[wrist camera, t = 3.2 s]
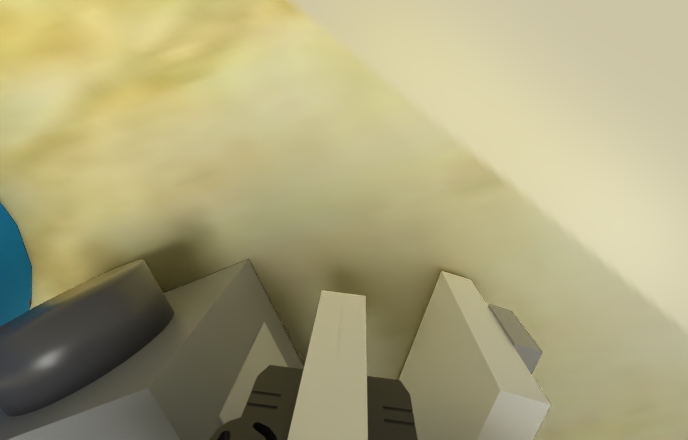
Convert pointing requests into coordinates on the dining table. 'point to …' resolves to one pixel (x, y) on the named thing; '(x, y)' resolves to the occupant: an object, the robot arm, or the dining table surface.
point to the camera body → (139, 357)
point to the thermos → (13, 271)
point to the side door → (472, 369)
